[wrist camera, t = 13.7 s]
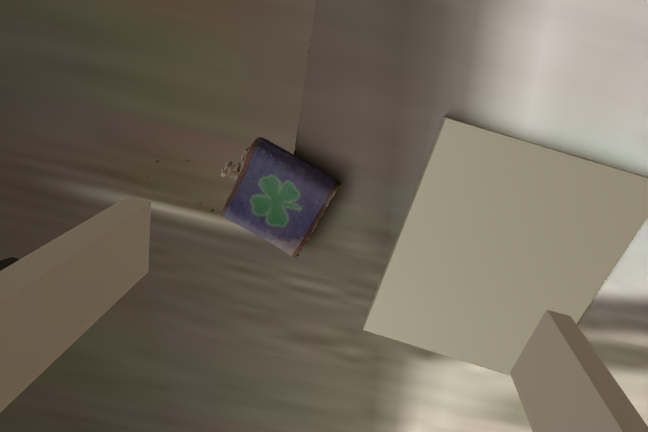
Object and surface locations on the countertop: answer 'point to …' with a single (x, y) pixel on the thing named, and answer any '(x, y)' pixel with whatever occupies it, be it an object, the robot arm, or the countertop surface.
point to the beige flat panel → (501, 244)
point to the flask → (277, 195)
